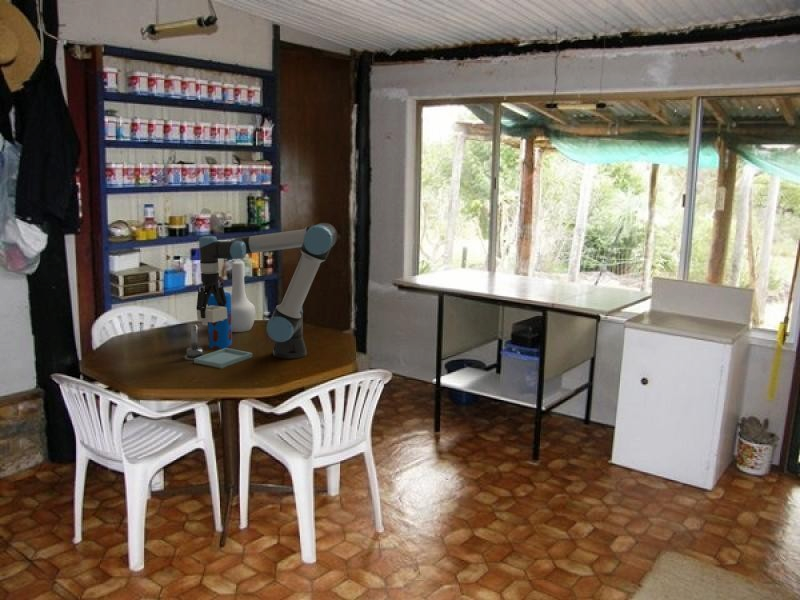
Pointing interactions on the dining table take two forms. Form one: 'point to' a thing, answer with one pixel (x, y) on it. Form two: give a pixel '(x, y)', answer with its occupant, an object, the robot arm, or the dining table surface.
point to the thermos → (220, 326)
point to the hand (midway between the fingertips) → (212, 322)
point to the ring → (214, 313)
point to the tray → (223, 358)
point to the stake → (194, 345)
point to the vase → (240, 301)
